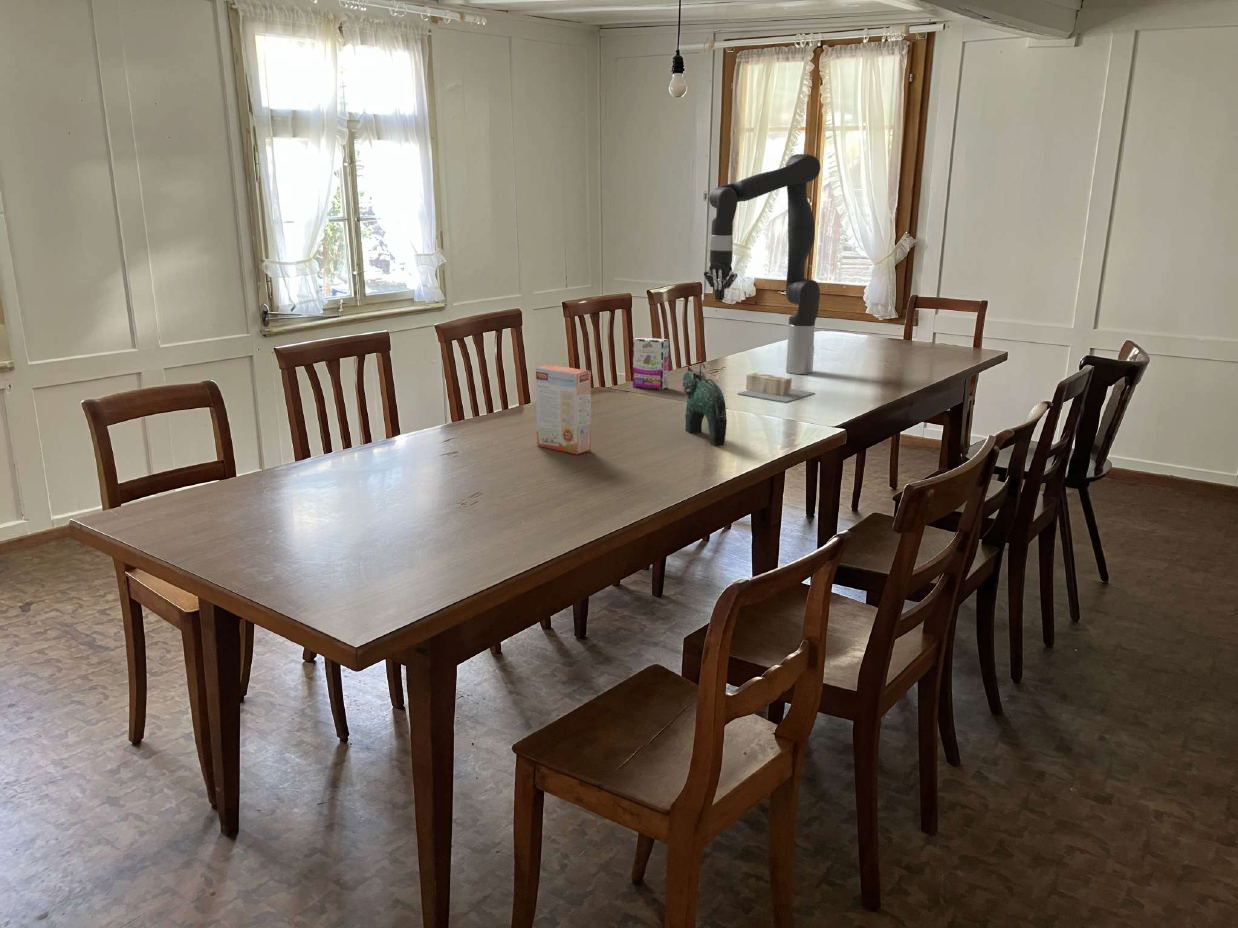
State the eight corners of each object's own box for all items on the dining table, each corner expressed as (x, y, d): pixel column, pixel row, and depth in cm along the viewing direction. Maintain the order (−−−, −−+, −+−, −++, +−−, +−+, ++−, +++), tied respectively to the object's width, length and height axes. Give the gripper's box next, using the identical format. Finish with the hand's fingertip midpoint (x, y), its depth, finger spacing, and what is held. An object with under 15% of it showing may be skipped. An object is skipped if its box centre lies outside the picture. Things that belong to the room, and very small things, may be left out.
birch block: (755, 372, 322) (791, 378, 313) (754, 387, 324) (790, 393, 315) (746, 374, 319) (783, 380, 310) (746, 389, 320) (782, 396, 311)
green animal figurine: (679, 429, 270) (681, 358, 265) (700, 427, 272) (702, 357, 267) (710, 447, 252) (713, 371, 247) (732, 445, 255) (735, 370, 249)
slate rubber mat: (767, 386, 328) (767, 385, 328) (814, 394, 316) (814, 392, 316) (737, 394, 315) (737, 393, 315) (785, 403, 303) (785, 401, 303)
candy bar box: (668, 388, 324) (669, 339, 319) (662, 390, 320) (663, 341, 315) (638, 384, 329) (639, 336, 324) (631, 387, 324) (632, 338, 320)
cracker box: (592, 450, 248) (592, 370, 243) (576, 455, 244) (576, 373, 238) (551, 441, 257) (550, 363, 251) (536, 446, 252) (534, 366, 246)
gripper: (744, 249, 326) (741, 301, 331) (711, 247, 334) (710, 298, 339) (731, 250, 321) (729, 303, 325) (698, 248, 329) (697, 300, 334)
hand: (719, 300), depth 332 cm, fingers closed
